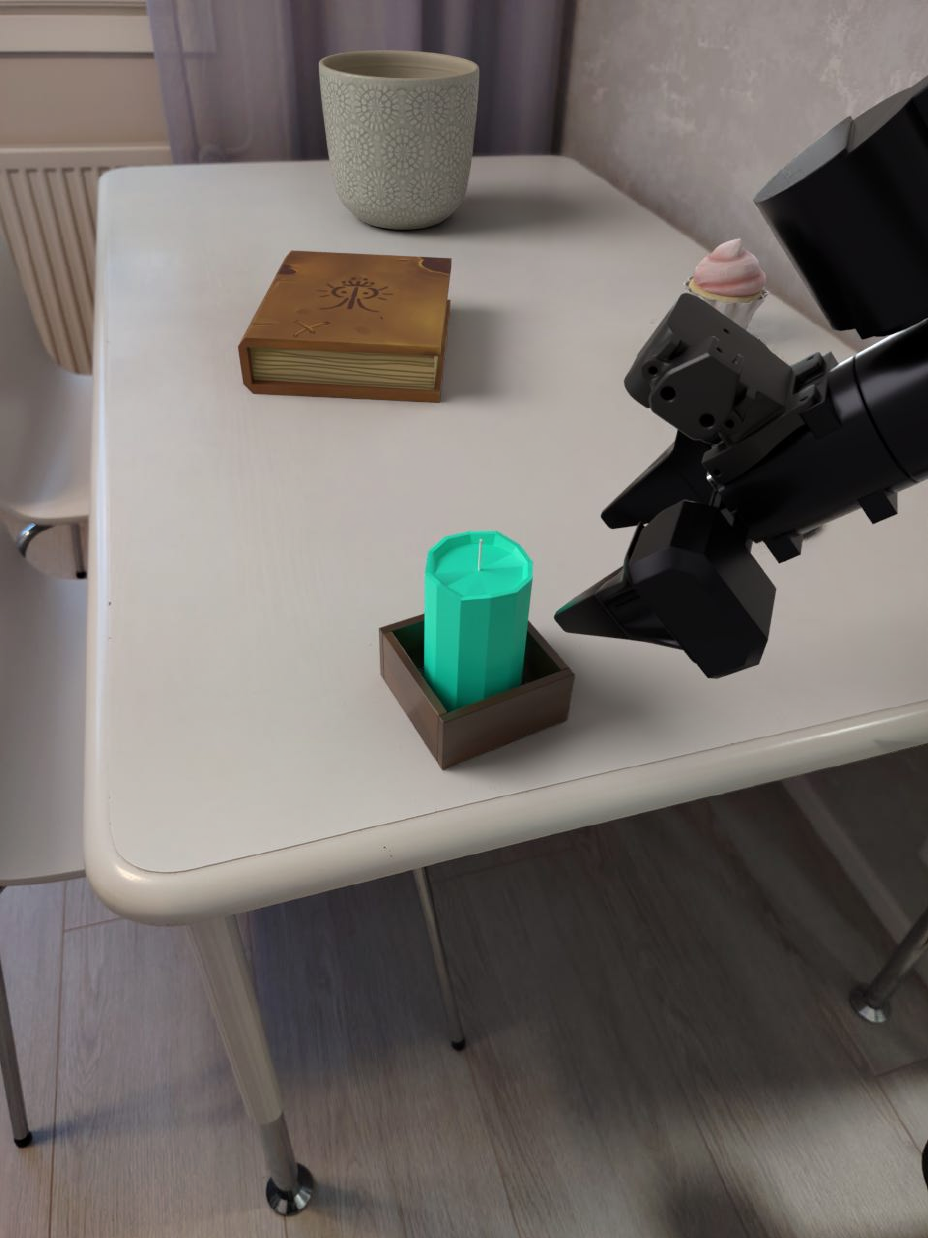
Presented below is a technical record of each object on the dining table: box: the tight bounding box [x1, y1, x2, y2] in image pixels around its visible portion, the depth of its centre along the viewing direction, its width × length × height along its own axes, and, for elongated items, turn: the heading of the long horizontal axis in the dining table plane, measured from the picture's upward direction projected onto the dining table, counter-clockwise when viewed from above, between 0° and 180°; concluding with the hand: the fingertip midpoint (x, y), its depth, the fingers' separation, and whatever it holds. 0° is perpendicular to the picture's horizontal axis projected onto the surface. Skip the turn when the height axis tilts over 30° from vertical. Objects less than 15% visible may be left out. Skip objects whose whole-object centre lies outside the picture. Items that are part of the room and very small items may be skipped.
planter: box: [318, 49, 480, 231], centre depth 118 cm, size 21×21×19 cm
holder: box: [378, 612, 576, 770], centre depth 52 cm, size 9×9×4 cm
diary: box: [237, 250, 453, 403], centre depth 89 cm, size 23×19×6 cm
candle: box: [423, 530, 534, 713], centre depth 50 cm, size 6×6×12 cm
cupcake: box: [683, 237, 771, 331], centre depth 95 cm, size 9×9×10 cm
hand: (584, 568), depth 44 cm, fingers open, 9 cm apart
